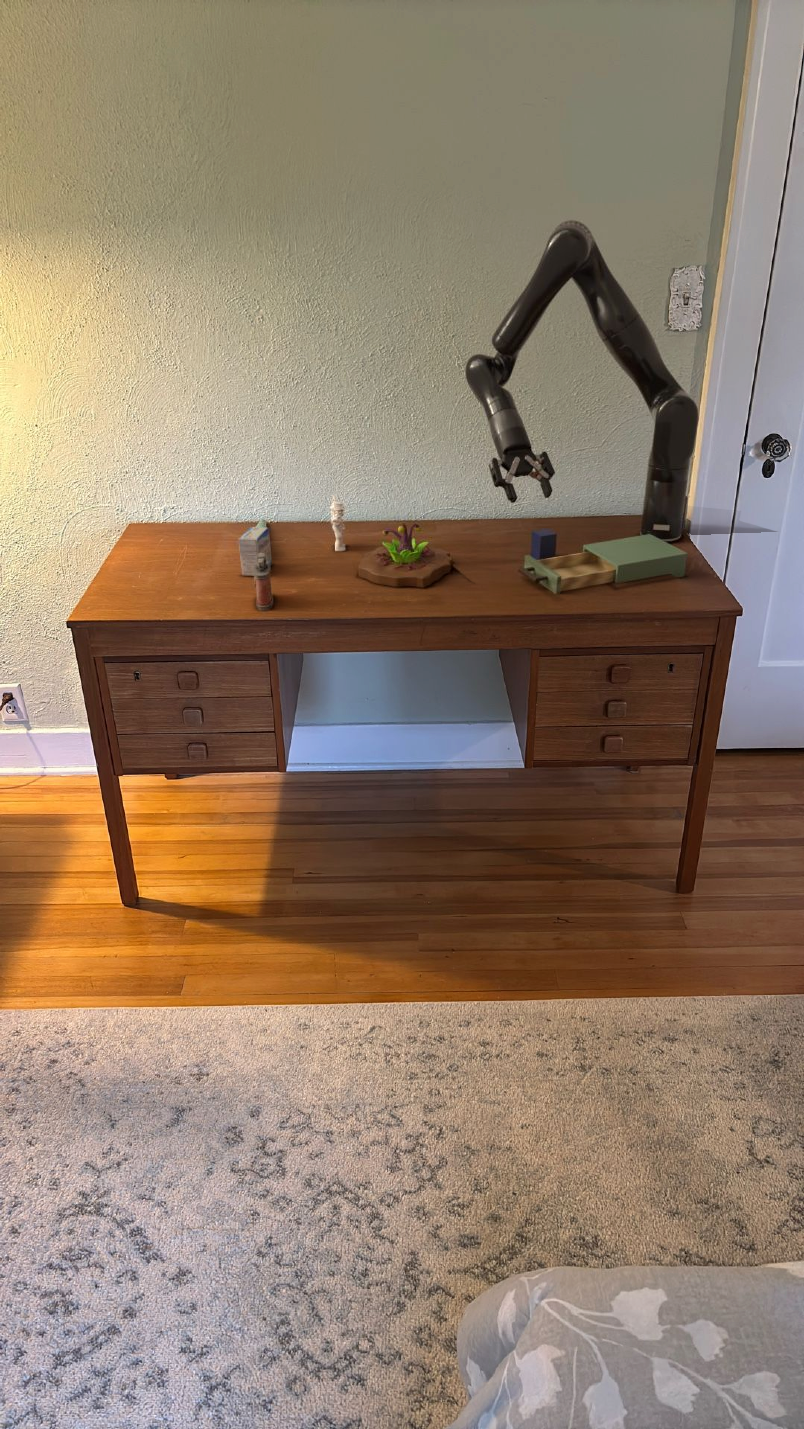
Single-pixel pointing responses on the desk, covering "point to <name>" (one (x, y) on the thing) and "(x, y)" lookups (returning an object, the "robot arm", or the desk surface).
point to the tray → (568, 571)
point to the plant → (405, 562)
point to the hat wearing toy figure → (338, 523)
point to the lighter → (263, 583)
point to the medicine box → (254, 548)
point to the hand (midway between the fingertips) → (531, 498)
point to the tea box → (543, 544)
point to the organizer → (640, 557)
